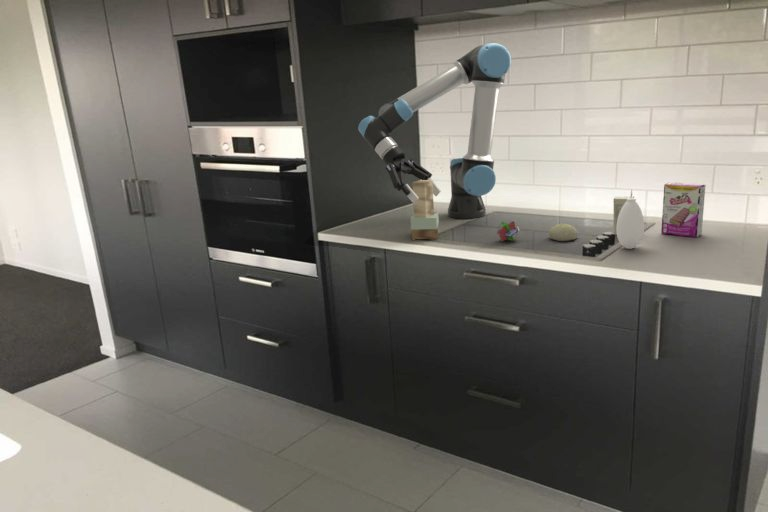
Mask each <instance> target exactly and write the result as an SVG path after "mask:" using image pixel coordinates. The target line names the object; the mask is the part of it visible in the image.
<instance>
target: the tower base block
mask: <svg viewBox="0 0 768 512" xmlns="http://www.w3.org/2000/svg"><path fill="white" fill-rule="evenodd" d="M412 239H414V240H413V241H416V240H415V239H430V240H439V226H438V227H437V229H420V230H411V240H412Z"/></svg>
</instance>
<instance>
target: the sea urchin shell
mask: <svg viewBox="0 0 768 512" xmlns="http://www.w3.org/2000/svg"><path fill="white" fill-rule="evenodd" d="M548 237H549V238H550V239H551V240H554V241H558V242H559V241H560V242H568V241H569V242H571V241H575V239H577V237H578V230H577V228H576V227H574V226H573V225H571V224H568V223H558V224H555V225H554V226H552V227H551V228H550V229H549V231H548Z"/></svg>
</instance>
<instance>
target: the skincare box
mask: <svg viewBox="0 0 768 512" xmlns="http://www.w3.org/2000/svg"><path fill="white" fill-rule="evenodd" d="M630 197H631V196H614V197H613V235H614V236H617V232H616V225H617V219H618V216H619V213H620V211H621V209H622V207H623V205H624V204H625V203H626V202H627V198H630ZM632 198H635V196H632Z"/></svg>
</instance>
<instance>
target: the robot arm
mask: <svg viewBox="0 0 768 512" xmlns="http://www.w3.org/2000/svg"><path fill="white" fill-rule="evenodd" d="M511 65H512V57H511V54H510V52H509V50H508V49H507V48H506V46H504V45H502V44H500V43H495V42H491V43H490V42H489V43H486V44H482V45H478V46H476V47H474V48H473V49H471V50H470V51H469V52H467V53H465V54H464V55H463V56H462V57H460V58H458V59H456V60H455V61H454V64H453V65H452V66H451V67H448V68H447V69H445V70H444V71H442V72H440V73H439V74H436V75H435V76H433V77H431V78H430V79H428V80H426V81H424V82H423V83H421V84H419V85H417V86H416V87H414V88H412V89H410V90H408V92H406V93H404V94H402V95H400V96H399V97H397V98H396V99H394V100H392V101H390V102H389V103H384V105H382V106H381V107H380V108H379V110H378V116H377V117H375V116H374V115H368V116H367V117H364V118H363V119H361V120H360V122H359V124H358V127H357V129H358V132H359V133H360V134H361V136H362V137H363V138H364V141H366V142H367V143H368V145H370V147H371V148H372V149H373V150H374V152H376V154H377V155H378V156H379V157H380V159H381V160H382V161H383V162H384V164H386V165H385V169H386V171H387V173H388V175H389V178H390V180H391V183H392V185H393V188H394V189H397V191H400V192H401V191H402V192H403V194H404V195H405V196H407V198H408V199H409V200H410V201H411V203H412V204H413V205H414V203H415V202H416V201H417V200H418V199H419V197H418V196H417V195H416V194H415V193H414V191H413V188H411V186H410V185H409V184H408V183H406V182H405V174H407V175H411V176H413V177H415V178H417V179H419V180H432V178H431V177H432V176H433V174H432V173H431V172H430V171H428V169H426V168H425V167H423V166H422V165H420V164H419V163H418V162H416V161H415V160H414V159H413V158H410V159H408V160H407V158H405V156H406V153H405V152H404V151H403V150H402V148H401V147H400V146H399V144H398V143H397V142H396V141H395V139H393V137H392V136H391V134H393V132H394V131H396V130H397V129H399V128H400V126H402V125H404V124H405V123H406V122H408V121H409V120H410V118H412V117H413V115H414V112H417V111H418V110H420V109H421V108H423V107H425V106H427V105H429V104H430V103H432V102H434V101H435V100H437V99H439V98H440V97H442V96H444V95H445V94H447V93H449V92H451V91H453V90H455V89H456V88H457V87H459V86H461V85H463V84H465V85H468V84H470V83H472V84H473V85H474V95H473V103H472V112H471V120H470V129H469V136H468V137H469V138H468V146H467V152H466V154H465V155H464V156H462V157H459V158H453V159H451V160H450V165H449V169H450V187H451V188H450V189H451V194H450V195H451V198H450V202H449V205H448V208H447V216H448V217H449V218H451V219H462V220H463V219H464V220H466V219H476V218H481V217H484V216H486V214H487V210H486V206H485V203H484V200H483V197H482V196H485V195H487V194H488V193H490V192H491V191H492V190H493V188H494V187H495V186H496V185H495V184H496V179H497V178H496V174H495V171H494V163H495V159H494V158H493V156H492V147H493V138H494V131H495V123H496V117H497V115H496V114H497V109H498V108H497V107H498V101H499V93H500V92H499V91H500V89H501V88H502V87H503V86H504V85H505V77H506V74H507V73H508V71H509V70H510V67H511ZM441 192H442V191H441V189H440V188H439V187H438V186H437V184H436V183H435V182H434V181H433V196H435V197H438V195H439V194H441Z"/></svg>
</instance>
